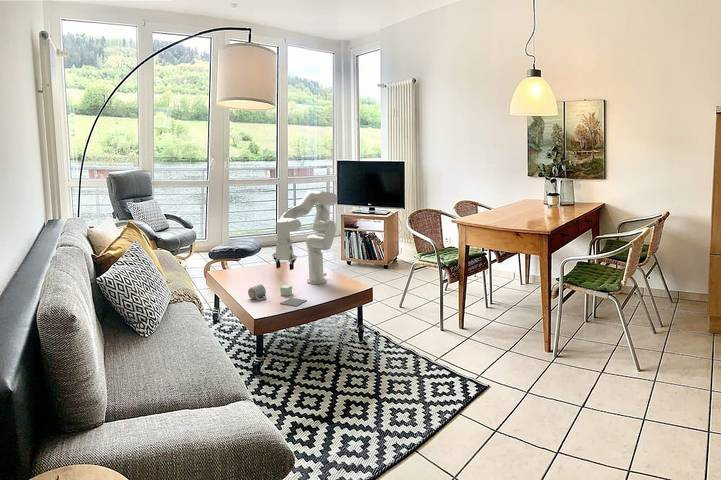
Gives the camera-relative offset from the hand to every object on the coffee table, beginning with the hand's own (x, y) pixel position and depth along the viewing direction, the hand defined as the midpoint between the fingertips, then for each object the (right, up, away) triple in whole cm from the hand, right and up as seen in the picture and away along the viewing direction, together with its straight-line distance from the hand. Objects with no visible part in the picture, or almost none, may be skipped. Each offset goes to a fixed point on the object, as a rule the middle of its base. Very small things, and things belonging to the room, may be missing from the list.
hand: (285, 268), depth 285 cm
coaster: (+7, -19, -12) cm, 23 cm away
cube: (0, -16, +3) cm, 16 cm away
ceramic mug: (-15, -18, -3) cm, 23 cm away
